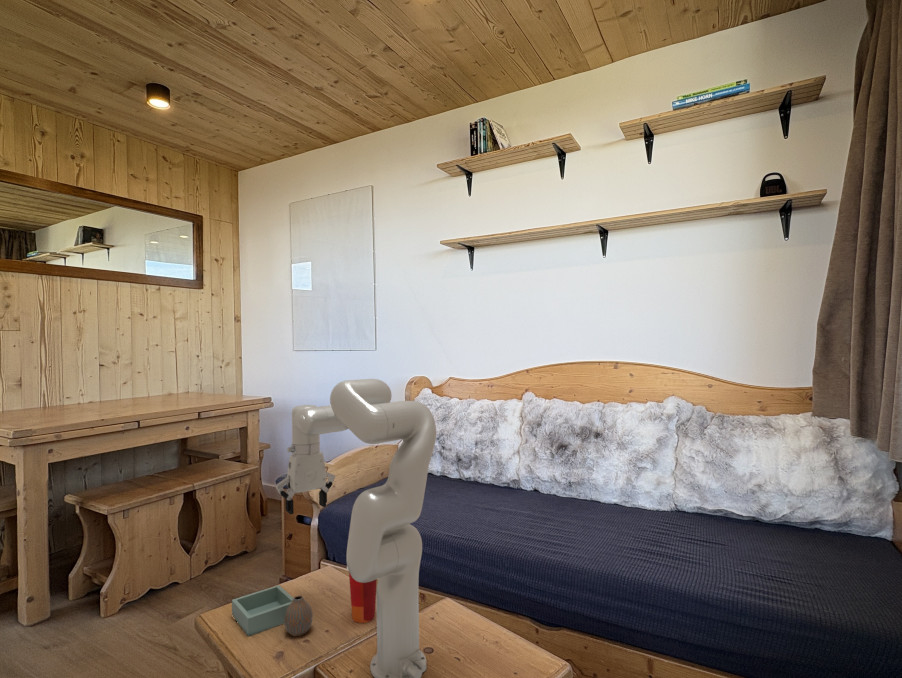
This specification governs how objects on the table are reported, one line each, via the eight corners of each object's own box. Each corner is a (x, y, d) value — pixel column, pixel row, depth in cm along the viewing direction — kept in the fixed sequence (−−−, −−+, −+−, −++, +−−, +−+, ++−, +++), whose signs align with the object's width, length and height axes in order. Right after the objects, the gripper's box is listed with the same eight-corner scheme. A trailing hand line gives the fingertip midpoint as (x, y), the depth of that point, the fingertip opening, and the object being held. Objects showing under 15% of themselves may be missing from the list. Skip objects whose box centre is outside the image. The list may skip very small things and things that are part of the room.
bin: (297, 618, 136) (297, 601, 136) (248, 636, 128) (247, 618, 128) (278, 600, 146) (278, 584, 146) (231, 616, 138) (231, 599, 138)
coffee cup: (378, 608, 141) (377, 553, 141) (379, 623, 133) (378, 566, 133) (348, 611, 139) (347, 556, 140) (347, 627, 131) (346, 569, 132)
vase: (308, 639, 126) (307, 604, 126) (280, 639, 126) (280, 604, 126) (316, 624, 133) (315, 590, 133) (289, 624, 133) (289, 591, 133)
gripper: (280, 455, 136) (281, 519, 135) (339, 446, 147) (340, 506, 146) (270, 451, 142) (271, 513, 141) (328, 443, 152) (329, 500, 152)
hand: (306, 509), depth 144 cm, fingers open, 9 cm apart
